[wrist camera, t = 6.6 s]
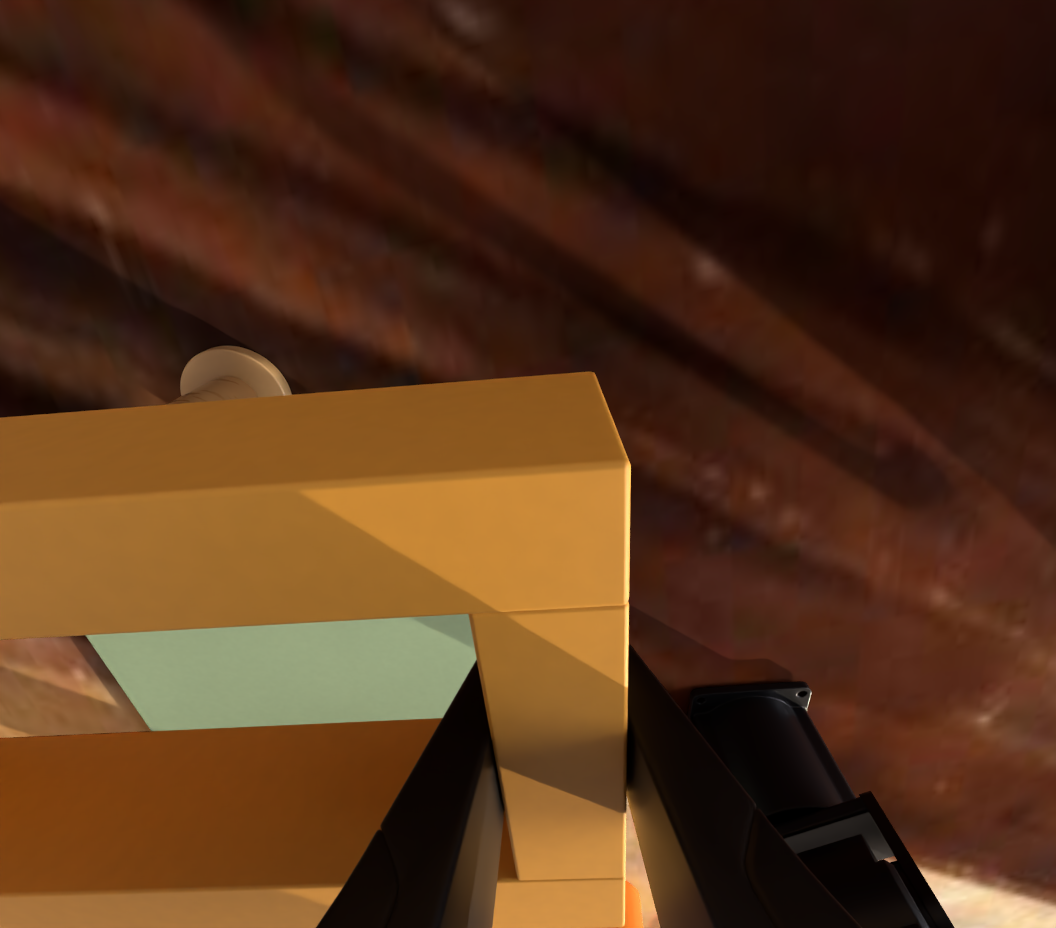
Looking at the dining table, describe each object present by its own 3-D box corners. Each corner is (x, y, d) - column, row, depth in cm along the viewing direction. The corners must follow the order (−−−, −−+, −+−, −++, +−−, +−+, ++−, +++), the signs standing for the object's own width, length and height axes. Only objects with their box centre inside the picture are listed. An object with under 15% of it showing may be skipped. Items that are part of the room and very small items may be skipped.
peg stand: (275, 340, 18) (157, 399, 12) (306, 437, 20) (216, 529, 14) (171, 349, 18) (6, 413, 12) (212, 445, 20) (84, 540, 14)
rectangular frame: (595, 369, 8) (632, 462, 5) (603, 759, 13) (625, 928, 10) (-393, 447, 9) (-872, 566, 6) (-42, 786, 14) (-207, 948, 11)
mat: (559, 571, 23) (560, 577, 23) (574, 771, 31) (575, 777, 30) (77, 608, 24) (69, 614, 24) (202, 794, 31) (199, 801, 31)
